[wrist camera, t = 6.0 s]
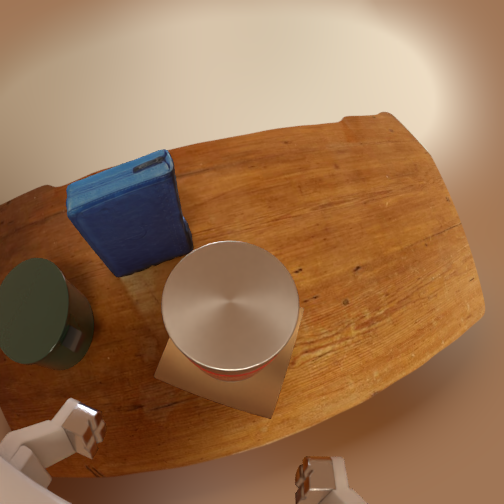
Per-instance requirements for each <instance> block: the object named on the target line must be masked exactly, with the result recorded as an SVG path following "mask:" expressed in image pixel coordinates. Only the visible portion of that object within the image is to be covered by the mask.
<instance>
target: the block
mask: <svg viewBox="0 0 504 504" xmlns="http://www.w3.org/2000/svg"><path fill="white" fill-rule="evenodd" d="M303 312H304V308H302V307H299V316H298V321H297V325H296V328H295V330H294V333H293V334H292V336H291V338H290V340H289V341H288V343H287V344H286V346H285V347H284V348H283V349H282V350H281V351H280V352H279V353H278V355H277V356H276V357H275V358H274V359H273V360H272V361H271V362H270V363H269V364H268V365H267V366H265V367H264V368H263V369H262V370H261V371H260V372H258V373H257V374H255V375H254V376H252V377H251V378H249V379H246V380H244V381H240V382H223V381H219V380H217V379H214V378H212V377H211V376H209V375H207V374H205V373H204V372H203V371H202V370H200V369H199V368H198V367H197V366H196V365H194V364H193V363H192V362H191V361H190V360H189V359H188V358H187V357H186V356H185V355H184V354H183V353H182V352H181V351H180V350H179V349H178V348H177V347H176V345H175V344H174V343H173V341H172V340H171V338H170V337H169V340H168V342H167V344H166V347H165V349H164V352H163V354H162V357H161V359H160V362H159V364H158V367H157V369H156V372H155V374H154V378H156V379H159V380H161V381H163V382H165V383H168V384H170V385H173V386H175V387H177V388H180V389H182V390H185V391H187V392H190V393H192V394H195V395H198V396H200V397H203V398H206V399H208V400H211V401H214V402H217V403H220V404H223V405H226V406H229V407H232V408H235V409H238V410H241V411H245V412H248V413H251V414H255V415H258V416H262V417H265V418H269V419H271V418H272V415H273V412H274V409H275V406H276V403H277V400H278V397H279V394H280V391H281V387H282V384H283V381H284V378H285V375H286V371H287V368H288V365H289V361H290V358H291V355H292V351H293V348H294V344H295V341H296V337H297V334H298V330H299V327H300V323H301V319H302V316H303Z"/></svg>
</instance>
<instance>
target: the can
mask: <svg viewBox="0 0 504 504" xmlns="http://www.w3.org/2000/svg"><path fill="white" fill-rule="evenodd" d="M161 308H162V317H163V322H164V325H165V328H166V330H167V333H168V335H169V337H170V338H171V340H172V341H173V343H174V344H175V345H176V347H177V348H178V349H179V350H180V351H181V352H182V353H183V354H184V355H185V356H186V357H187V358H188V359H189V360H190V361H191V362H192V363H193V364H194V365H196V366H197V367H198V368H199V369H200V370H202V371H203V372H204V373H205V374H207V375H209V376H211V377H212V378H214V379H217V380H219V381H223V382H240V381H244V380H246V379H249V378H251V377H252V376H254V375H255V374H257V373H258V372H260V371H261V370H262V369H263V368H264V367H265V366H267V365H268V364H269V363H270V362H271V361H272V360H273V359H274V358H275V357H276V356H277V355H278V353H279V352H280V351H281V350H282V349H283V348H284V347H285V346H286V344H287V343H288V341H289V340H290V338H291V336H292V334H293V333H294V330H295V328H296V325H297V321H298V316H299V297H298V292H297V288H296V285H295V283H294V280H293V278H292V277H291V275H290V273H289V272H288V270H287V269H286V267H285V266H284V265H283V264H282V263H281V262H280V261H279V260H278V259H277V258H276V257H275V256H274V255H272V254H271V253H269V252H268V251H266V250H264V249H262V248H260V247H258V246H255V245H252V244H249V243H245V242H238V241H221V242H215V243H211V244H208V245H205V246H202V247H200V248H198V249H196V250H194V251H192V252H191V253H189V254H188V255H187V256H185V257H184V258H183V259H182V260H181V261H180V262H179V263H178V264H177V265H176V266H175V268H174V269H173V270H172V272H171V273H170V275H169V277H168V279H167V281H166V284H165V286H164V290H163V294H162V302H161Z"/></svg>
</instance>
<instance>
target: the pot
mask: <svg viewBox="0 0 504 504" xmlns="http://www.w3.org/2000/svg"><path fill="white" fill-rule="evenodd" d="M93 331H94V318H93V312H92V309H91V306H90V304H89V302H88V300H87V298H86V297H85V296H84V295H83V294H82V293H81V292H80V291H79V290H78V289H77V288H76V287H74V286H73V285H72V284H71V283H70V282H69V281H68V280H67V279H66V278H65V276H64V274H63V273H62V271H61V270H60V269H59V268H58V267H57V266H56V265H55V264H54V263H52V262H51V261H49V260H47V259H43V258H32V259H29V260H26V261H24V262H22V263H20V264H19V265H17V266H16V267H15V268H13V269H12V270H11V271H10V273H9V274H8V275H7V276H6V278H5V279H4V281H3V282H2V284H1V286H0V348H1V349H2V351H3V352H4V353H5V354H6V355H7V356H8V357H9V358H10V359H11V360H13V361H15V362H18V363H21V364H26V365H32V364H35V365H38V366H42V367H45V368H49V369H52V370H65V369H68V368H71V367H73V366H74V365H76V364H77V363H78V362H79V361H80V360H81V359H82V358H83V357H84V356H85V354H86V352H87V351H88V349H89V347H90V344H91V341H92V337H93Z"/></svg>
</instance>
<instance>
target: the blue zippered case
mask: <svg viewBox="0 0 504 504" xmlns="http://www.w3.org/2000/svg"><path fill="white" fill-rule="evenodd" d="M66 191H67V200H66V207H67V216H68V218H69V219H70V220H71V222H72V223H73V225H74V226H75V227H76V229H77V230H78V231H79V232H80V234H81V235H82V236H83V238H84V239H85V240H86V241H87V242H88V244H89V245H90V246H91V248H92V249H93V250H94V251H95V253H96V254H97V255H98V256H99V257H100V259H101V260H102V261H103V262H104V263H105V265H106V266H107V267H108V268H109V270H110V271H111V272H112V273H113V274H114V275H115V276H116V277H122V276H127V275H131V274H133V273H134V272H139V271H142V270H144V269H147V268H149V267H150V266H152V265H158V264H160V263H162V262H164V261H167V260H171V259H173V258H175V257H178V256H183V255H186V254H188V253H190V252H191V251H192V250H193V242H192V234H191V231H190V229H189V225H188V223H187V221H186V220H185V218H184V217H183V215H182V210H181V204H180V200H179V195H178V189H177V181H176V176H175V169H174V163H173V159H172V158H171V155H170V153H169V152H168V150H158V151H156V152H153V153H151V154H149V155H146V156H143V157H141V158H138V159H135V160H133V161H129V162H126V163H123V164H121V165H118V166H116V167H113V168H110V169H108V170H105V171H103V172H100V173H98V174H95V175H92V176H90V177H87V178H85V179H82V180H79V181H77V182H74V183H72V184H70V185H68V187H67V190H66Z"/></svg>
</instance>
